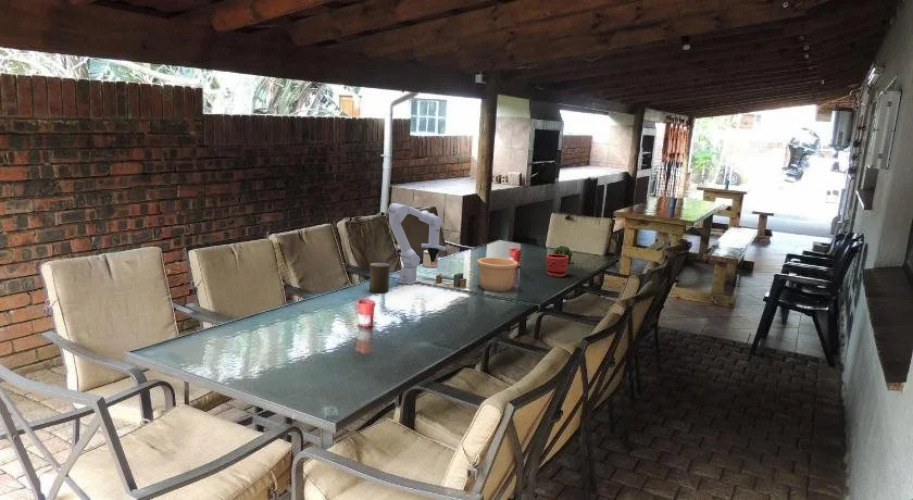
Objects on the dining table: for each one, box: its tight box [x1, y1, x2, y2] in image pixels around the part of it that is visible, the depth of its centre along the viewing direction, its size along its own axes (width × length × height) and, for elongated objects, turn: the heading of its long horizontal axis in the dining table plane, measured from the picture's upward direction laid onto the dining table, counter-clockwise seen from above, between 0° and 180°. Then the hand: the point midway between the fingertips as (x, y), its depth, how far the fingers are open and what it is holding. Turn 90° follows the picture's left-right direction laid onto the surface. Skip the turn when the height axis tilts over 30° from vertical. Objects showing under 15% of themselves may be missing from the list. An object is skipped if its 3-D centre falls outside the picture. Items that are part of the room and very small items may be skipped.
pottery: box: [476, 256, 519, 292], centre depth 350 cm, size 22×22×14 cm
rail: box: [433, 273, 468, 290], centre depth 350 cm, size 17×6×5 cm, turn 63°
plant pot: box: [545, 253, 569, 278], centre depth 389 cm, size 13×13×12 cm
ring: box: [452, 272, 464, 287], centre depth 348 cm, size 2×6×6 cm, turn 152°
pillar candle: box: [369, 262, 390, 294], centre depth 329 cm, size 10×10×15 cm
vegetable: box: [552, 245, 573, 265], centre depth 426 cm, size 12×13×15 cm
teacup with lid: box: [422, 249, 439, 269], centre depth 396 cm, size 12×9×12 cm
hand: (432, 261), depth 360 cm, fingers closed
